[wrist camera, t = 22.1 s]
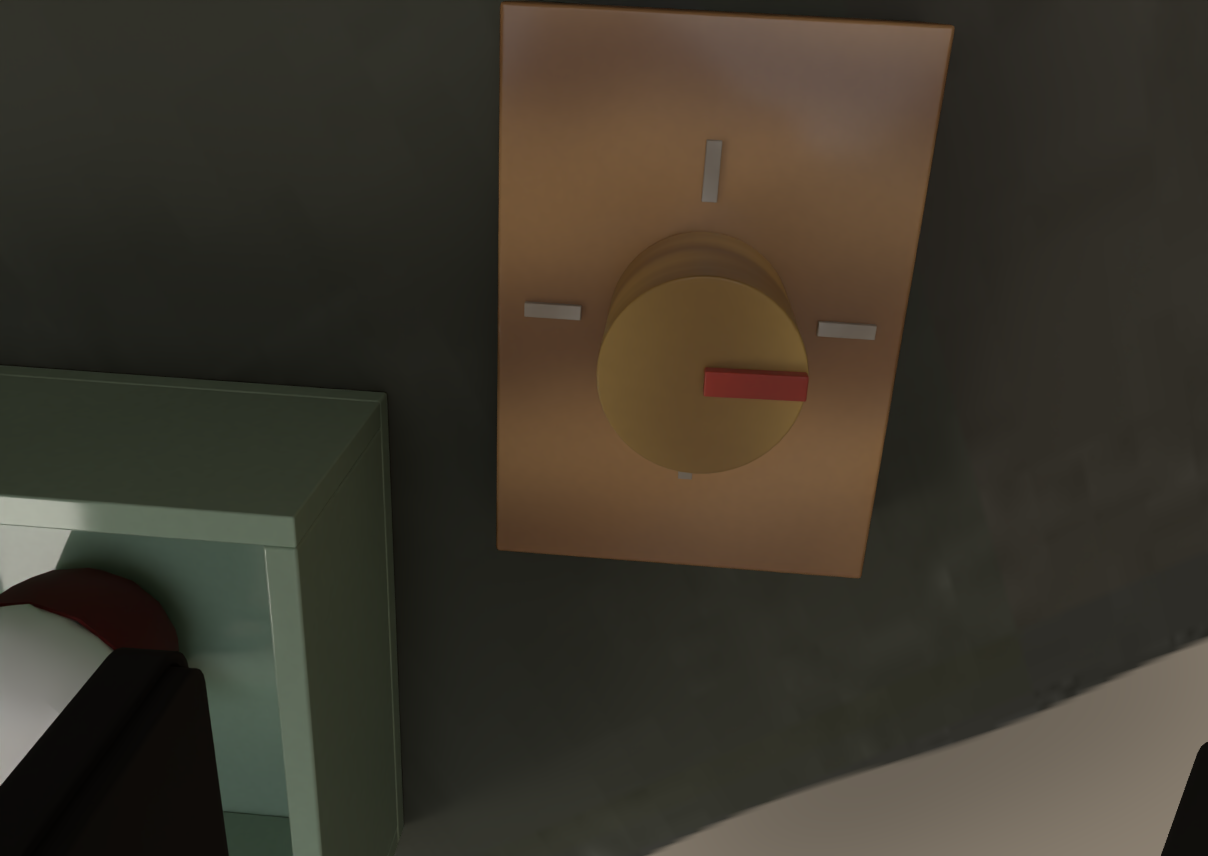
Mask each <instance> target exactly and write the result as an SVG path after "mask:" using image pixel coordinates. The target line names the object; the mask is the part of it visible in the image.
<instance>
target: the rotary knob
mask: <svg viewBox="0 0 1208 856" xmlns="http://www.w3.org/2000/svg"><path fill="white" fill-rule="evenodd" d="M808 374H809V369H808V359H807V354H806V350H805V346H804V343H803V340H802V337H801V334H800V331H799V328H798V326H797V323H796V320H795V317H794V314H793V311H792V308H791V306H790V303H789V300H788V297H787V294H786V291H785V289H784V286H783V284H782V281H781V279H780V278H779V276H778V274H777V272H776V271H775V269H774V268H773V267H772V265H771V264H770V263H769V262H768V261H767V260H766V259H765V258H764V257H763V256H762V255H761V254H760V253H759V252H758V251H756V250H755V249H754V248H752V247H751V246H750V245H748V244H746V243H744V242H742V241H740V240H738V239H736V238H733V237H730V236H727V235H723V234H719V233H713V232H688V233H682V234H678V235H674V236H671V237H668V238H665V239H663V240H661V241H659V242H657V243H655V244H653V245H652V246H650V247H648V248H647V249H646V250H644V251H643V252H642V253H640V254H639V255H638V256H637V257H636V258H635V259H634V260H633V261H632V262H631V263H630V264H629V266H628V267H627V268H626V270H625V271H624V272H623V274H622V276H621V278H620V279H619V281H618V283H617V285H616V288H615V290H614V293H613V296H612V301H611V305H610V309H609V313H608V318H607V322H606V326H605V330H604V335H603V339H602V343H601V347H600V352H599V356H598V361H597V371H596V377H597V389H598V395H599V399H600V402H601V406H602V409H603V411H604V413H605V415H606V417H607V419H608V422H609V423H610V425H611V426H612V428H613V429H614V431H615V432H616V433H617V435H618V436H619V437H620V438H621V439H622V440H623V442H624V443H625V444H627V445H628V446H629V447H630V448H631V449H632V450H633V451H635V452H636V453H638V454H639V455H641V456H642V457H643V458H645V459H647V460H649V461H651V462H653V463H655V464H657V465H659V466H662V467H665V468H667V469H671V470H675V471H679V472H685V473H693V474H709V473H718V472H724V471H728V470H732V469H735V468H738V467H741V466H743V465H746V464H748V463H750V462H752V461H754V460H756V459H758V458H760V457H761V456H762V455H764V454H765V453H767V452H768V451H770V450H771V449H772V448H773V447H774V446H775V445H777V444H778V443H779V442H780V441H781V440H782V439H783V437H784V436H785V435H786V434H787V433H788V432H789V430H790V429H791V427H792V426H793V424H794V423H795V421H796V419H797V417H798V415H799V413H800V411H801V409H802V406H803V403H804V402H805V401H806V399H807V390H808V382H809V377H808Z"/></svg>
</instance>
